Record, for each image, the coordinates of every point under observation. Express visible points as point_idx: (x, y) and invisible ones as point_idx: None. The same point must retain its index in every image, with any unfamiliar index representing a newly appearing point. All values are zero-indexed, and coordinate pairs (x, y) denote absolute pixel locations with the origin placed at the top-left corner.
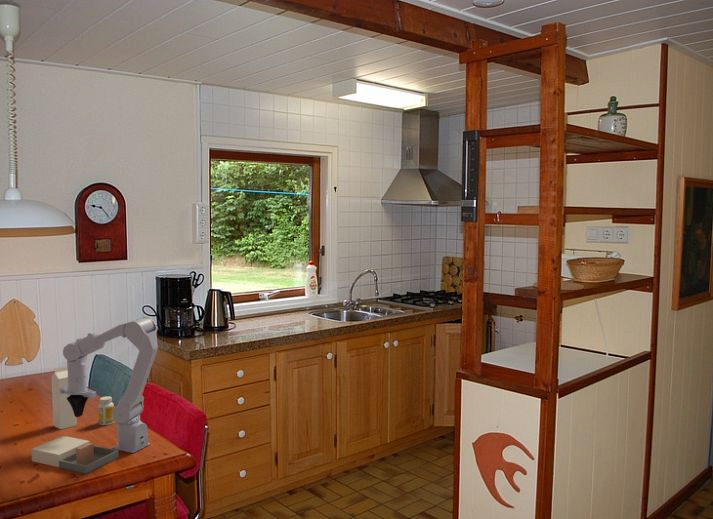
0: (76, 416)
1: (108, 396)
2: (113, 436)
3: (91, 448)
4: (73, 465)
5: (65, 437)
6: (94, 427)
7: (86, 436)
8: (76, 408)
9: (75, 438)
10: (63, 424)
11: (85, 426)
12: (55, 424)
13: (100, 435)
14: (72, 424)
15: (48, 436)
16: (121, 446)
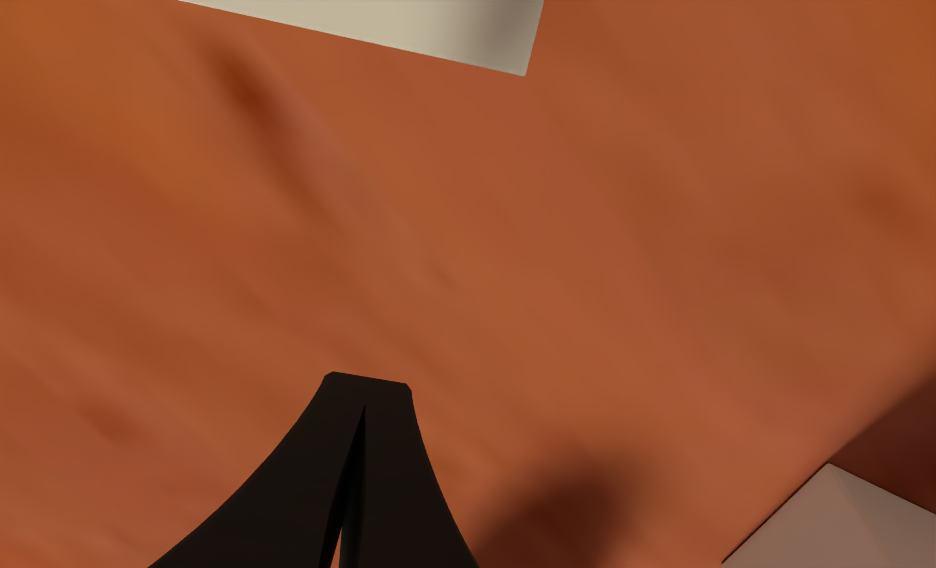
0: (359, 379)
1: None
2: (163, 415)
3: None
4: None
5: (428, 8)
6: (517, 552)
7: (448, 369)
8: (267, 487)
9: (230, 1)
10: (827, 517)
11: (619, 557)
12: (929, 523)
13: None
14: (754, 555)
15: (880, 299)
16: None
